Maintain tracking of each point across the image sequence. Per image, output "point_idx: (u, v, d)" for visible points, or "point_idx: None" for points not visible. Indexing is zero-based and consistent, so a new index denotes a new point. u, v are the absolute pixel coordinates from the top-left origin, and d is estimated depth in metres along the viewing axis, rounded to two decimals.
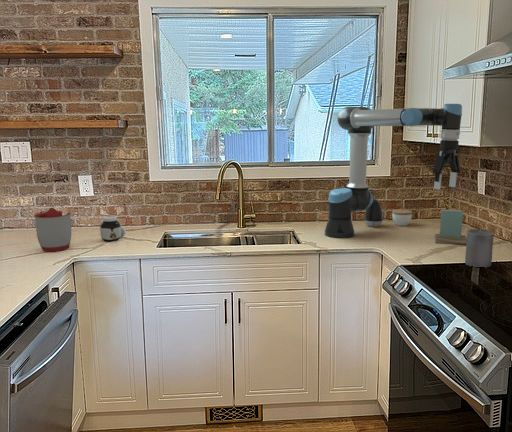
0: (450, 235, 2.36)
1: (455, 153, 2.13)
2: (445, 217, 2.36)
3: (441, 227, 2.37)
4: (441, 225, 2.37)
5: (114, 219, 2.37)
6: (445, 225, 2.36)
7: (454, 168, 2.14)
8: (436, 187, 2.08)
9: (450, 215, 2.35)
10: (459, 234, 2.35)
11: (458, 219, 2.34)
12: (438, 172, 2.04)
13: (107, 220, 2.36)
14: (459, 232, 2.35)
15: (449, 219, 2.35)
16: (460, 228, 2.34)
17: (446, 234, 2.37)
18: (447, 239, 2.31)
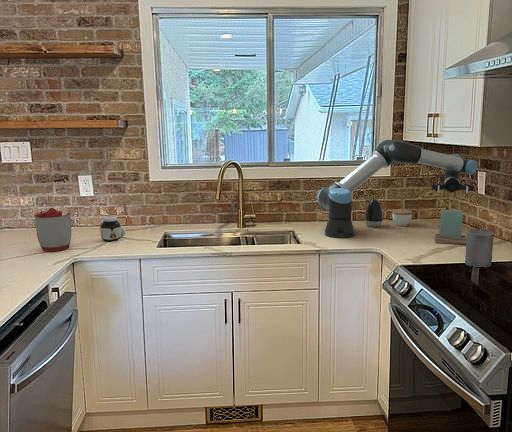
0: (450, 235, 2.36)
1: None
2: (445, 217, 2.36)
3: (441, 227, 2.37)
4: (441, 225, 2.37)
5: (114, 219, 2.37)
6: (445, 225, 2.36)
7: (440, 188, 2.51)
8: (468, 189, 2.39)
9: (450, 215, 2.35)
10: (459, 234, 2.35)
11: (458, 219, 2.34)
12: (471, 190, 2.45)
13: (107, 220, 2.36)
14: (459, 232, 2.35)
15: (449, 219, 2.35)
16: (460, 228, 2.34)
17: (446, 234, 2.37)
18: (447, 239, 2.31)
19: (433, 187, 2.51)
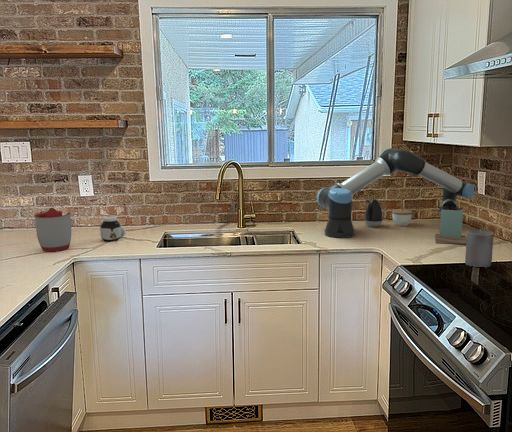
0: (450, 235, 2.36)
1: None
2: (445, 217, 2.36)
3: (441, 227, 2.37)
4: (441, 225, 2.37)
5: (114, 219, 2.37)
6: (445, 225, 2.36)
7: None
8: None
9: (450, 215, 2.35)
10: (459, 234, 2.35)
11: (458, 219, 2.34)
12: None
13: (107, 220, 2.36)
14: (459, 232, 2.35)
15: (449, 219, 2.35)
16: (460, 228, 2.34)
17: (446, 234, 2.37)
18: (447, 239, 2.31)
19: None
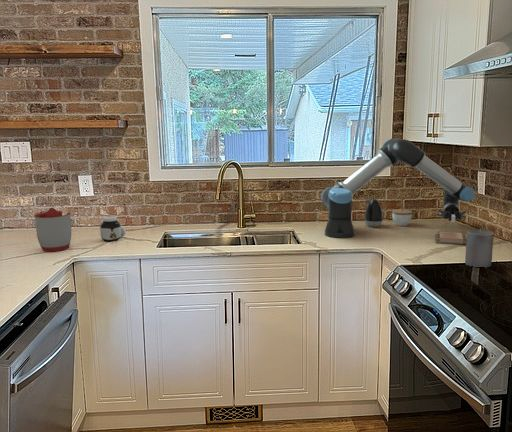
0: None
1: None
2: None
3: None
4: None
5: (114, 219, 2.37)
6: None
7: None
8: (455, 219, 2.32)
9: None
10: None
11: None
12: (458, 219, 2.38)
13: (107, 220, 2.36)
14: None
15: None
16: None
17: None
18: None
19: (447, 216, 2.39)
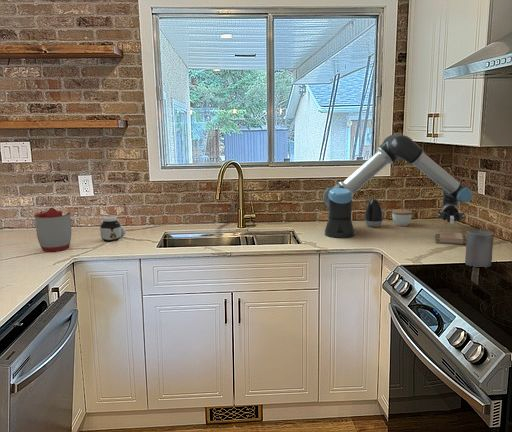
0: None
1: None
2: None
3: None
4: None
5: (114, 219, 2.37)
6: None
7: None
8: (453, 220, 2.28)
9: None
10: None
11: None
12: (457, 220, 2.34)
13: (107, 220, 2.36)
14: None
15: None
16: None
17: None
18: None
19: None
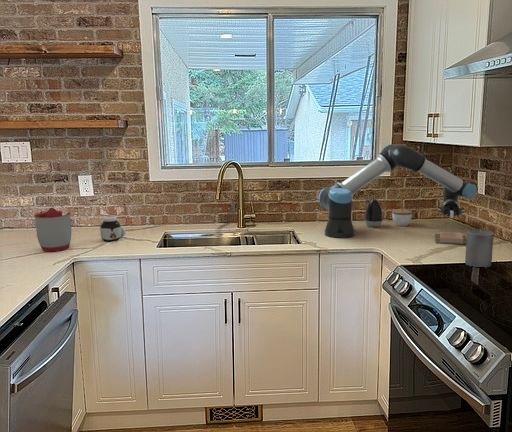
0: None
1: None
2: None
3: None
4: None
5: (114, 219, 2.37)
6: None
7: None
8: (453, 215, 2.39)
9: None
10: None
11: None
12: None
13: (107, 220, 2.36)
14: None
15: None
16: None
17: None
18: None
19: (446, 212, 2.46)
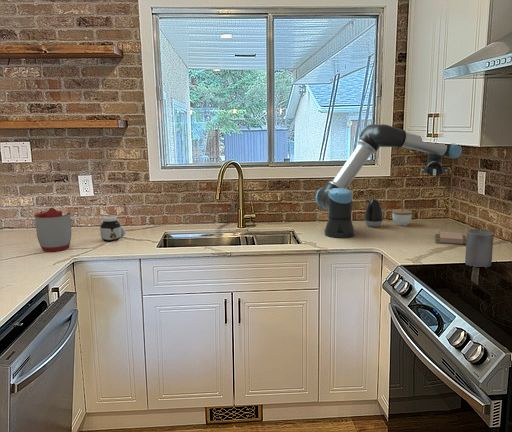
0: None
1: None
2: None
3: None
4: None
5: (114, 219, 2.37)
6: None
7: None
8: (436, 172, 2.39)
9: None
10: None
11: None
12: (439, 173, 2.45)
13: (107, 220, 2.36)
14: None
15: None
16: None
17: None
18: None
19: None
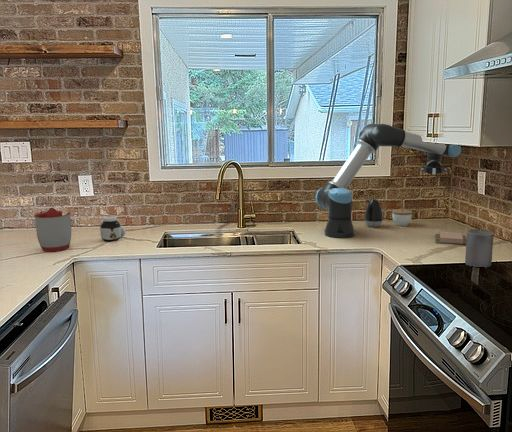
0: None
1: None
2: None
3: None
4: None
5: (114, 219, 2.37)
6: None
7: None
8: (435, 171, 2.39)
9: None
10: None
11: None
12: (439, 172, 2.45)
13: (107, 220, 2.36)
14: None
15: None
16: None
17: None
18: None
19: (428, 170, 2.46)
